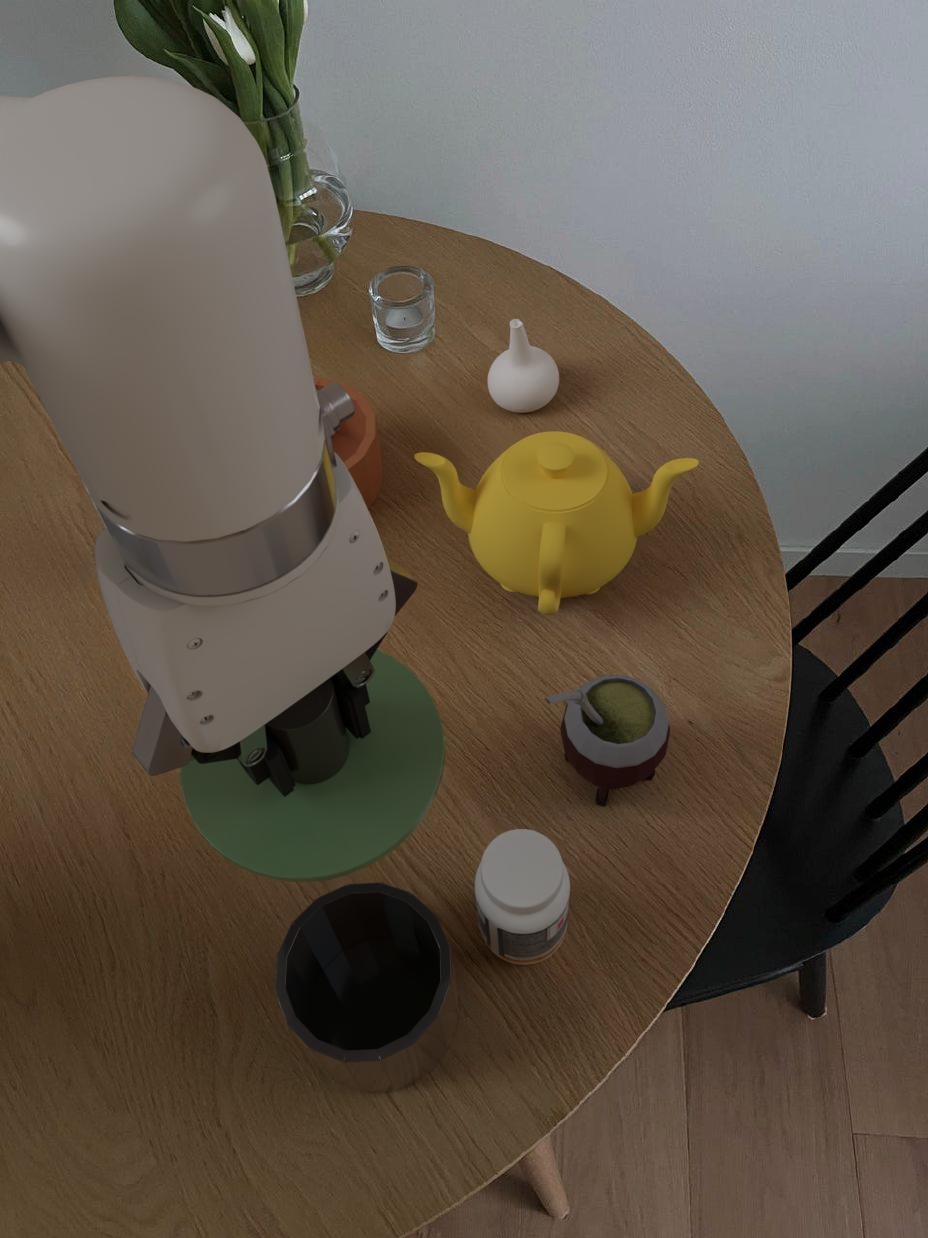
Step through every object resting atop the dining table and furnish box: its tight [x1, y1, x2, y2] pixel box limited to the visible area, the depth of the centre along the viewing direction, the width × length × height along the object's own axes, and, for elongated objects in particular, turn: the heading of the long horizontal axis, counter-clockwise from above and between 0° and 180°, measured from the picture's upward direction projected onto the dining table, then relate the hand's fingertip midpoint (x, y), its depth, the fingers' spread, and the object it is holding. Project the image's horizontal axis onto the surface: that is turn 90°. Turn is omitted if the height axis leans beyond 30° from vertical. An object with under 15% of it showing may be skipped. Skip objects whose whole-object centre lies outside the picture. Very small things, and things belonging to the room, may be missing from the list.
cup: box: [274, 881, 460, 1094], centre depth 62 cm, size 10×10×9 cm
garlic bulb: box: [487, 318, 560, 414], centre depth 91 cm, size 6×6×8 cm
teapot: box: [414, 430, 700, 616], centre depth 79 cm, size 20×15×12 cm
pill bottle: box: [474, 828, 572, 966], centre depth 64 cm, size 6×6×10 cm
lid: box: [179, 649, 446, 883], centre depth 49 cm, size 13×13×7 cm
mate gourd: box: [544, 674, 671, 807], centre depth 67 cm, size 8×8×15 cm
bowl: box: [313, 377, 384, 510], centre depth 87 cm, size 12×12×6 cm
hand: (308, 742), depth 50 cm, fingers closed on lid, 3 cm apart
